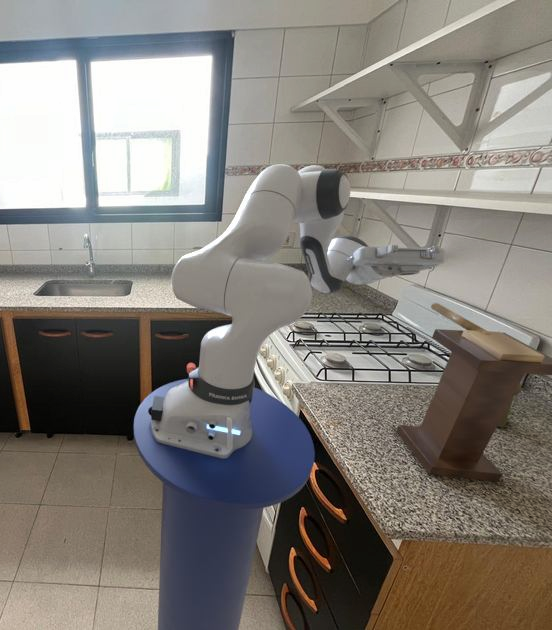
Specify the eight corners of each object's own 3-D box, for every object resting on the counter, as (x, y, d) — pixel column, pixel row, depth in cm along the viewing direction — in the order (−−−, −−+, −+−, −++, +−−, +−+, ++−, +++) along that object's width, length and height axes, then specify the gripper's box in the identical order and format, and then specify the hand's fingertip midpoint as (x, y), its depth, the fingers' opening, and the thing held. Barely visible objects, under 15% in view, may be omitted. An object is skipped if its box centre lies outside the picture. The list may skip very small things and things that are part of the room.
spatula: (500, 360, 57) (504, 351, 56) (417, 307, 78) (419, 301, 77) (541, 362, 56) (546, 354, 56) (447, 309, 77) (449, 302, 76)
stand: (429, 474, 68) (481, 360, 57) (396, 431, 78) (435, 328, 68) (498, 481, 66) (566, 365, 55) (455, 436, 77) (504, 332, 66)
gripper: (344, 250, 100) (369, 235, 86) (422, 252, 97) (462, 237, 83) (343, 271, 99) (369, 259, 85) (422, 274, 96) (462, 262, 82)
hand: (416, 248), depth 84 cm, fingers open, 8 cm apart
